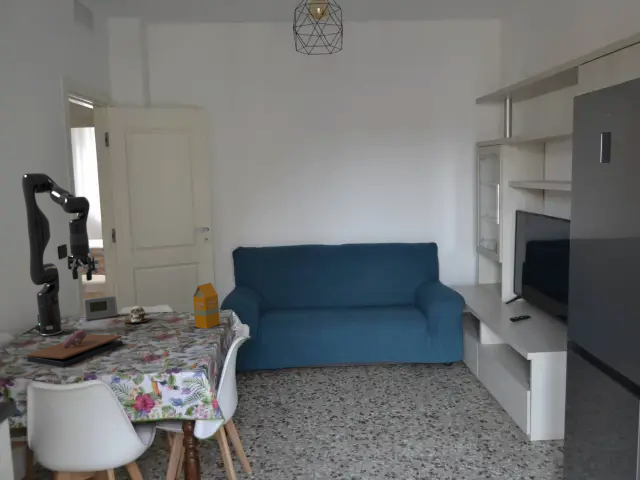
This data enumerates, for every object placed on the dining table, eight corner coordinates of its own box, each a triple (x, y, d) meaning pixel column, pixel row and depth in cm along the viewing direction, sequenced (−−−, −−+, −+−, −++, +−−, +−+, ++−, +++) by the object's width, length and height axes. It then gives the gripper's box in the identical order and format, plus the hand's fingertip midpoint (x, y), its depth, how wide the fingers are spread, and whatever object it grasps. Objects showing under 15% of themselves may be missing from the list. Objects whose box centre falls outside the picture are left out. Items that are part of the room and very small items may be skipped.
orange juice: (219, 324, 272) (217, 283, 269) (207, 328, 264) (204, 286, 262) (207, 322, 276) (205, 281, 273) (194, 326, 268) (191, 285, 266)
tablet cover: (121, 337, 244) (121, 335, 244) (63, 359, 218) (62, 357, 218) (87, 336, 254) (87, 334, 254) (27, 356, 227) (26, 354, 227)
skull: (148, 321, 277) (132, 307, 276) (133, 336, 278) (118, 321, 277) (154, 314, 289) (139, 301, 288) (140, 328, 290) (126, 315, 289)
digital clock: (83, 321, 289) (81, 300, 287) (86, 317, 297) (84, 297, 296) (116, 318, 292) (115, 297, 291) (119, 314, 301) (117, 294, 300)
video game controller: (70, 351, 231) (75, 336, 230) (61, 347, 232) (66, 331, 230) (85, 344, 241) (90, 330, 239) (76, 340, 241) (80, 325, 240)
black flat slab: (122, 344, 245) (122, 340, 245) (63, 367, 218) (63, 362, 218) (87, 339, 254) (87, 335, 254) (27, 361, 228) (27, 356, 227)
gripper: (98, 242, 245) (100, 279, 247) (75, 241, 252) (78, 277, 254) (83, 244, 238) (86, 282, 240) (60, 243, 245) (63, 280, 247)
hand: (82, 279), depth 247 cm, fingers open, 8 cm apart
